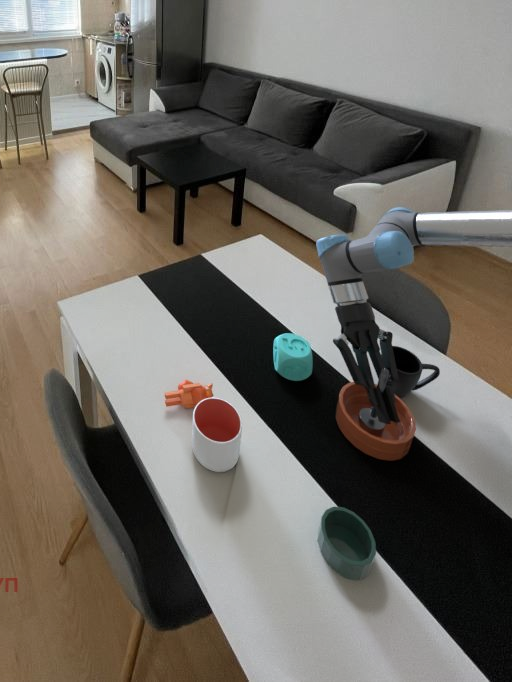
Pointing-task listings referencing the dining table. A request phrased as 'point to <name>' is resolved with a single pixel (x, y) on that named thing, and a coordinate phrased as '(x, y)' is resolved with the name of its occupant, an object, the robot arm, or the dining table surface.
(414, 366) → the mug
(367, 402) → the bowl
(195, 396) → the orange toy figurine
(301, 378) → the decorative dice
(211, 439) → the cup
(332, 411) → the dining table surface
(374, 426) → the ladle
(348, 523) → the faceted green pot
